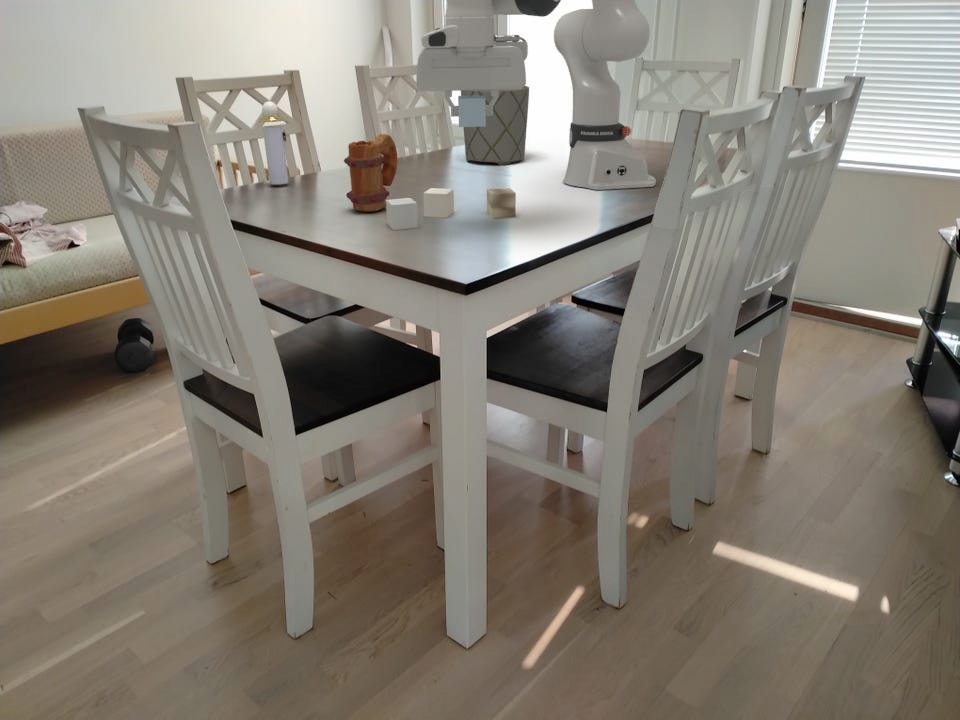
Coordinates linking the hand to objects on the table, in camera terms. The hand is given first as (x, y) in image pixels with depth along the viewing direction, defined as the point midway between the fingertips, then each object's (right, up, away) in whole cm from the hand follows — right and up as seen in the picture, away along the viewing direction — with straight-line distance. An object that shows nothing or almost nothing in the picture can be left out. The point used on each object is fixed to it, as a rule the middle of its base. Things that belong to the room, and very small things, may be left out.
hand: (471, 115), depth 138 cm
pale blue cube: (0, -1, +1) cm, 2 cm away
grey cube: (-14, -19, +8) cm, 25 cm away
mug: (-21, -13, +23) cm, 34 cm away
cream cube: (-7, -15, +17) cm, 24 cm away
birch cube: (+6, -16, +16) cm, 23 cm away
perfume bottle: (-49, -3, +45) cm, 66 cm away
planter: (+6, +12, +74) cm, 75 cm away
